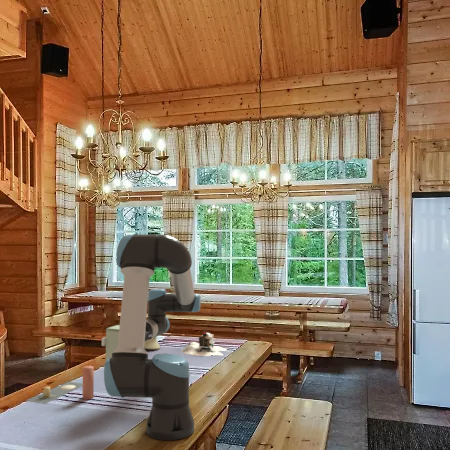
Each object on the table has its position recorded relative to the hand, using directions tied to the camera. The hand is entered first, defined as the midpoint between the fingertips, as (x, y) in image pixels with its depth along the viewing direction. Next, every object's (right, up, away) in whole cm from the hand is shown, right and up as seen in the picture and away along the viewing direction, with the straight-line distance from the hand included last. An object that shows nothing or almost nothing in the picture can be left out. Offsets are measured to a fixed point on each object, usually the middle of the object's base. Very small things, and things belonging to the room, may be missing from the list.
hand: (111, 343), depth 163 cm
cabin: (+30, -27, +87) cm, 96 cm away
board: (-25, -24, +17) cm, 39 cm away
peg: (-12, -24, +11) cm, 29 cm away
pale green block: (+2, -7, +5) cm, 8 cm away
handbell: (-3, -27, +91) cm, 95 cm away
